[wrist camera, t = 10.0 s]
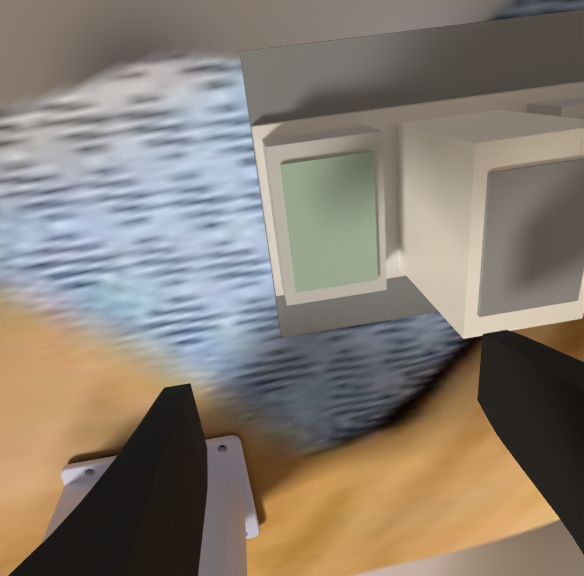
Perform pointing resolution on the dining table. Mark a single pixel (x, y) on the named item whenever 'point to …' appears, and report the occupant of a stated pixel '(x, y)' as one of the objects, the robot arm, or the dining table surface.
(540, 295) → the module block
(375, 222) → the mounting board
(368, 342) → the dining table surface
